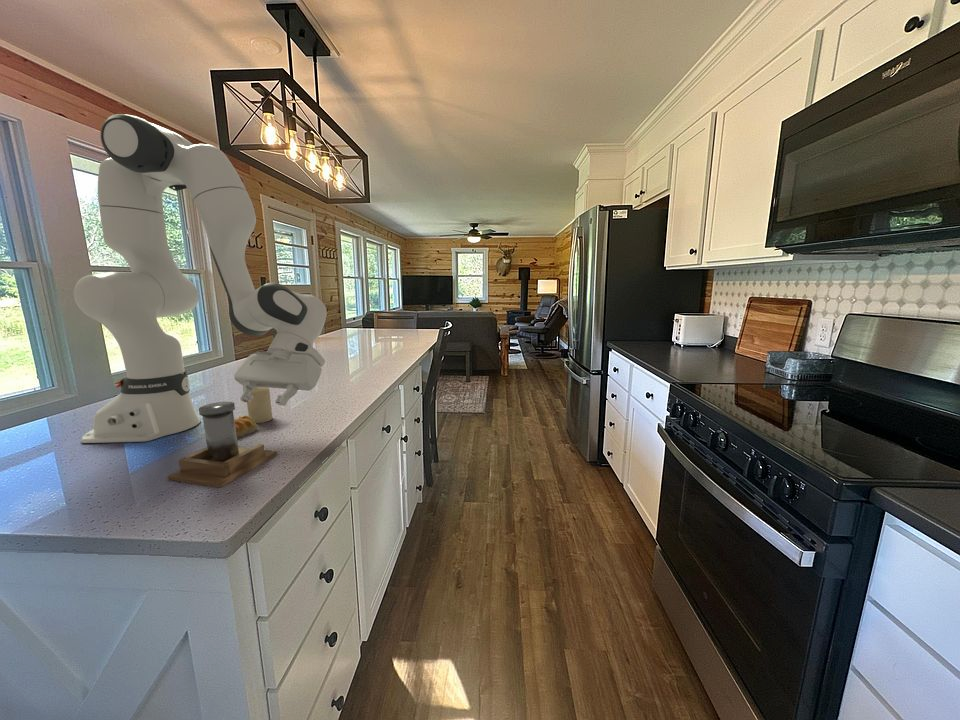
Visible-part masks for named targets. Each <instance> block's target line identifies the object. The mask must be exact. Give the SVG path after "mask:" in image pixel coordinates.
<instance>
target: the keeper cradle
mask: <svg viewBox="0 0 960 720" xmlns="http://www.w3.org/2000/svg"><path fill="white" fill-rule="evenodd" d="M238 449H239V454H238V455H236V456H235V457H233V458H231V459H229V460H227V461H225V462H218V461H210V460H209V454H208V448H207V446H206V447H204V448H202V449H200V450H198V451H195V452H193V453H190V454H189V455H187V456H184V457H182V458H180V459H178V467H179V470H178V471H175V472H173V473H172V474H169V475H167V480H168V479H169V480H168V481H172V480H175V481H174V482H178V481H182V482H181V483H185V482H187V483H186V484H193V485H199V484H200V485H201V486H206V487H207V486H208V487H214V488H220V489H221V488H222V487H224V486H226V485H227V484H229V483H230V482H233V481H234V480H236V479H238V478H239V477H241V476H243V475H245V474H247V473H248V472H250V471H252V470H253V469H255V468H257V467H258V466H260V465H262V464H263V463H265V462H267V461H269V460H270V459H272V458H273V457H275V456H277V455H278V451H277V450H270V449H265V444H263V443H258V444H255V445H254V446H253V447H243V446H238ZM200 485H199V486H200Z"/></svg>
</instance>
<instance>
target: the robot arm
mask: <svg viewBox="0 0 960 720" xmlns="http://www.w3.org/2000/svg"><path fill="white" fill-rule="evenodd" d="M99 135H100V142H101V145H102V147H103V149H104V151H105V153H106V154H107V155H108V156H109V157H108V158H106V159H104V160H102V161H101V163H100V164H99V168H98V174H97V175H98V176H97V198H98V199H97V200H98V208H99V213H100V222H101V223H100V224H101V229H102V235H103V236H102V237H103V240H104V243H105V244H106V246H108V248H110V250H113V251H114V252H116V253H117V254H119V255H121V257H122V258H123V259H124V260H125V261H126V263H127V264H128V266H129V269H130V272H129V271H127V272H126V271H107V272H106V271H105V272H98V273H93V274H87V275H85V276H82V277H81V278H80V279H79V280H77V282H76V283H75V286H74V288H73V299H74V302H75V304H76V305H77V308H78V309H79V310H80V311H81V312H83V314H84V315H86V316H88V317H89V318H90V319H93V320H95V321H97V322H98V323H100V324H102V326H104V327H105V328H106V329H107V330H108V331H109V332H110V333H111V335H112V337H113V338H114V339H115V340H116V343H117V344H118V346H119V349H120V352H121V356H122V359H123V363H124V368H125V374H126V377H124V378H122V379H120V380H119V381H118V382H115V383H114V385H116V384H117V385H116V386H114V388H119V387H120V393H119V394H118V395H116V396H115V397H114V398H112V399H111V400H110V401H108V402H107V403H106V404H104V405H103V406H102V407H101V408H99V409H98V410H97V411H96V412H95V413H94V416H93V422H92V423H93V425H92V429H91V430H89V431H87V432H86V433H85V434H84V435H82V436H81V443H82V444H91V443H92V444H93V443H94V444H95V443H96V444H98V443H99V444H101V443H102V444H103V443H133V442H134V443H135V442H139V443H140V442H141V443H142V442H150V441H153V440H156V439H158V438H162V437H166V436H169V435H174V434H177V433H180V432H183V431H187V430H189V429H192V428H194V427H196V426H197V425H199V424H200V423H201V419H200V418H199V416H198V414H197V412H196V409H195V406H194V404H193V401H192V398H191V395H190V380H189V377H188V371H187V370H185V365H184V358H183V352H182V346H181V343H180V341H179V340H178V339H177V338H176V337H174V336H172V335H169V334H167V333H166V332H165V331H164V330H163V329H162V327H161V326H160V324H159V322H158V319H157V318H168V317H170V318H171V317H175V316H179V315H183V314H186V313H188V312H191V311H192V310H194V309H195V308H196V307H197V305H198V303H199V291H198V289H197V287H196V285H195V284H194V283H193V282H192V281H191V280H190V279H189V278H187V277H186V276H185V274H183V273H182V271H181V270H180V269H179V267H178V265H177V264H176V261H175V260H174V258H173V256H172V253H171V250H170V247H169V242H168V237H167V235H168V234H167V229H166V228H167V227H166V221H165V214H164V205H163V193H164V192H165V190H166V189H167V188H169V189H170V190H173V191H175V192H179V191H182V190H183V191H184V190H185V189H187V190H188V192H189V196H190V197H191V199H192V202H193V203H194V205H195V207H196V210H197V212H198V215H199V217H200V219H201V221H202V225H203V227H204V231H205V234H206V237H207V241H208V246H209V249H210V251H211V256H212V258H213V261H214V264H215V267H216V269H217V273H218V275H219V277H220V280H221V282H222V285H223V287H224V291H225V293H226V296H227V299H228V315H229V319H230V322H231V323H232V324H233V327H235V329H236V330H238V331H239V332H240V333H242V334H244V335H247V336H252V337H260V336H264V335H265V334H267V333H268V332H270V331H271V330H273V329H274V330H275V331H276V334H275V336H274V338H273V339H272V341H271V343H270V345H269V347H268V349H267V350H265V351H264V350H257V351H256V352H254V353H252V354H250V355H248V356H247V357H246V358H245V359H244V361H243V362H242V363H241V364H240V366H239V367H238V368H237V370H236V371H235V373H234V374H233V375H234V380H235V381H236V382H237V383H239V384H240V385H241V386H242V394H241V396H240V401H241V402H243V403H247V402H251V401H252V399H253V397H254V396H252V395H251V391H252V390H254V389H255V387H268V388H269V389H283V390H285V391H284V392H283V393H282V394H278V395H277V397H276V400H275V404H277V405H278V406H286V405H287V403H288V401H289V400H290V399H291V398H293V397H294V396H295V395H296V394H297V392H299V391H312V390H313V389H314V388H315V387H316V386H317V383H318V382H319V379H320V377H321V374H322V370H323V369H322V367H323V366H324V365H325V364H326V359H325V358H324V357H323V356H322V354H321V353H320V352H319V351H318V350H317V349H316V348H315V347H314V343H315V341H316V340H317V339H319V337H320V335H321V333H322V330H323V328H324V325H325V324H326V319H327V315H328V314H327V312H328V311H327V307H326V305H325V304H324V303H323V301H322V300H320V299H319V298H318V297H317V296H315V295H312V294H307V293H306V294H305V293H304V294H302V293H298V292H295V291H293V290H291V289H289V288H288V287H287V286H285V285H284V284H280V283H278V282H267V283H265V284H263V285H261V286H259V287H258V288H256V289H255V286H254V284H253V280H252V278H251V274H250V272H249V269H248V267H247V263H246V259H245V258H246V254H245V253H246V249H247V245H248V243H249V240H250V239H251V236H252V234H253V232H254V230H255V227H256V223H257V216H256V211H255V208H254V204H253V202H252V199H251V197H250V195H249V193H248V190H247V189H246V186H245V184H244V182H243V180H242V178H241V176H240V175H239V173H238V171H237V169H236V168H235V167H234V166H233V164H232V163H231V161H230V159H229V158H228V156H227V155H226V154H225V153H224V152H223V151H222V150H221V149H219V148H218V147H216V146H213V145H211V144H205V143H198V144H196V142H194V141H191V140H189V139H186V138H185V137H183V136H182V135H180V134H178V133H176V132H174V131H172V130H171V129H169V128H165V127H162V126H160V125H157V124H155V123H152V122H149V121H147V120H146V119H144V118H141V117H139V116H136V115H131V114H126V113H125V114H123V113H118V114H117V113H116V114H112V115H110V116H108V117H107V118H106V119H105V120H104V122H103V123H102V125H101V129H100V134H99Z"/></svg>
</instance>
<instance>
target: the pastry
mask: <svg viewBox="0 0 960 720" xmlns="http://www.w3.org/2000/svg"><path fill="white" fill-rule="evenodd" d="M234 421H235V428H236V435H237V439H238V438H242V437H243V436H247V435H248V434H251V433H253V432H255V431H256V430H257V429H258V423H255V421H254V420H253V419H252V417H250V416H249V415H243V416H239V417H237V418H234Z"/></svg>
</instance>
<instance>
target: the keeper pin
mask: <svg viewBox="0 0 960 720" xmlns="http://www.w3.org/2000/svg"><path fill="white" fill-rule="evenodd" d="M235 405H236V404H235V402H234V401H218V402H212V403H207V404H203V405H202V406H200V407H199V408H198V414H199V415H200V416H201V417H202V421H203V429H204V433H205V441H206V447H207V448H208V454H209V460H210V461H218V462H225V461H227V460H229V459H231V458H233V457H235V456H236V455H238V454H239V449H238V447H239V444H238V438H237V435H236V428H235V421H234V419H235V415H234V410H235V409H236V406H235Z"/></svg>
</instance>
